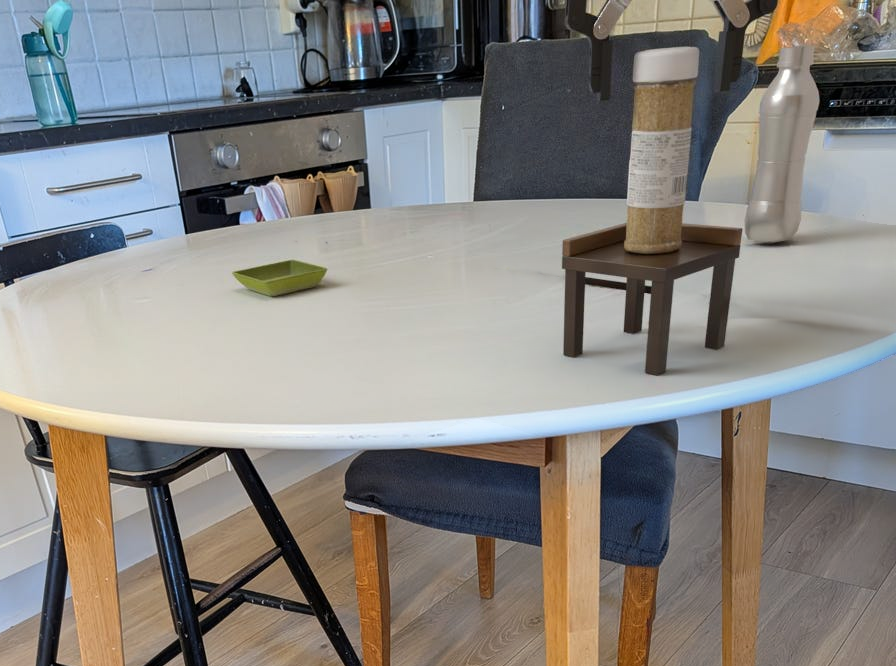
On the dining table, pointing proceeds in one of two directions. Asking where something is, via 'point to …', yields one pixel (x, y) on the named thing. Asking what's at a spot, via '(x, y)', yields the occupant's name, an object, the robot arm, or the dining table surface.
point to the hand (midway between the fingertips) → (662, 96)
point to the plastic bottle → (783, 148)
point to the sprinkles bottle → (660, 148)
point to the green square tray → (281, 277)
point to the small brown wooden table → (611, 258)
